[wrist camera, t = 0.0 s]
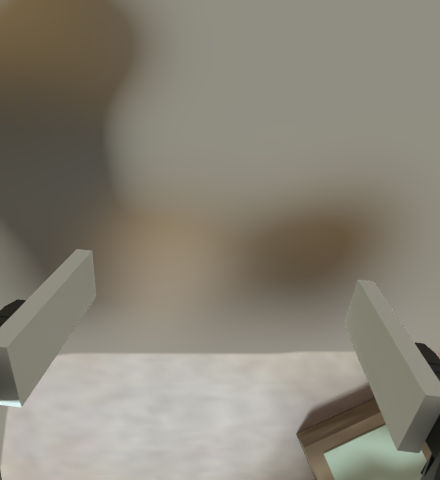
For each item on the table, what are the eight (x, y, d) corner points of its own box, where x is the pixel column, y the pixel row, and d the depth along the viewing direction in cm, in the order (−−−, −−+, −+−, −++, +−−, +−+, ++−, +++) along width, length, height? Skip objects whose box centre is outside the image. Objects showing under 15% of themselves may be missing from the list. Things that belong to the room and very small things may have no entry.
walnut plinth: (440, 485, 47) (465, 507, 42) (338, 535, 46) (353, 563, 41) (393, 388, 50) (413, 398, 45) (296, 433, 48) (305, 448, 44)
